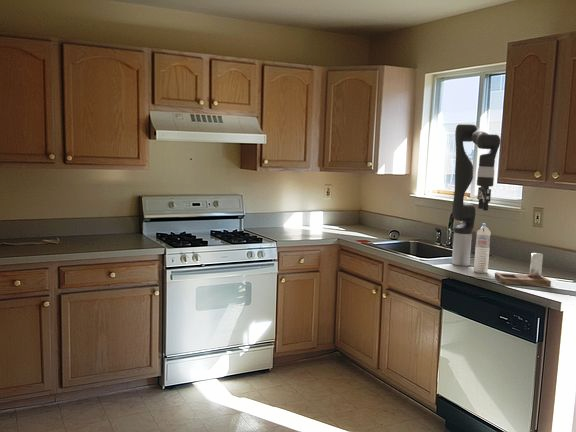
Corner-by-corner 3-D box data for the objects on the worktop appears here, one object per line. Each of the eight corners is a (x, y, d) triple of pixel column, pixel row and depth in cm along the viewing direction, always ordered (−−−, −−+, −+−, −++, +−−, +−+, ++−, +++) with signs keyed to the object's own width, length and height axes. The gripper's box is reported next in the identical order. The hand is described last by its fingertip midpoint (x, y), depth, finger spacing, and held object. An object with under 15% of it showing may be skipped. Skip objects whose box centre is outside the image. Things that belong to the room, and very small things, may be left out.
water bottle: (470, 271, 281) (474, 223, 278) (477, 270, 286) (481, 222, 283) (483, 274, 276) (487, 224, 273) (489, 272, 281) (494, 224, 278)
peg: (527, 281, 265) (529, 252, 264) (537, 281, 265) (540, 253, 263) (531, 283, 260) (533, 254, 259) (541, 284, 260) (544, 255, 258)
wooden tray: (494, 277, 270) (495, 272, 270) (540, 280, 268) (541, 274, 268) (501, 283, 258) (502, 278, 258) (550, 286, 256) (551, 280, 256)
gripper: (497, 177, 258) (494, 211, 260) (489, 175, 272) (486, 208, 274) (481, 176, 259) (478, 210, 261) (474, 175, 273) (471, 207, 275)
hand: (482, 209), depth 267 cm, fingers open, 8 cm apart
